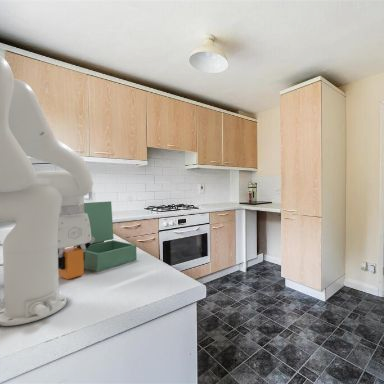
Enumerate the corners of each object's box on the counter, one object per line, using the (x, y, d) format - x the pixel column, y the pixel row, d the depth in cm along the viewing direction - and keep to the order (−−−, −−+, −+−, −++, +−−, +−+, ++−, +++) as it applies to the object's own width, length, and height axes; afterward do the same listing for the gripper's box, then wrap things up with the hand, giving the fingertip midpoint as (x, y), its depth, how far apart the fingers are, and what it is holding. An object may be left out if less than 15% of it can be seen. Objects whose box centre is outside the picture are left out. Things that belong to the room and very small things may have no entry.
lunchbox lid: (111, 201, 100) (105, 201, 102) (71, 203, 87) (66, 204, 89) (113, 239, 100) (107, 238, 102) (74, 247, 87) (68, 246, 89)
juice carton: (83, 274, 76) (83, 249, 76) (67, 279, 72) (67, 252, 72) (74, 271, 79) (73, 246, 79) (58, 275, 75) (57, 249, 75)
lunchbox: (136, 261, 93) (136, 244, 93) (97, 273, 80) (97, 254, 80) (113, 255, 100) (113, 240, 100) (74, 266, 87) (74, 248, 87)
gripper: (41, 214, 65) (43, 277, 66) (103, 208, 80) (104, 260, 81) (30, 212, 69) (31, 272, 70) (91, 207, 84) (92, 256, 85)
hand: (71, 265), depth 75 cm, fingers closed on juice carton, 4 cm apart
